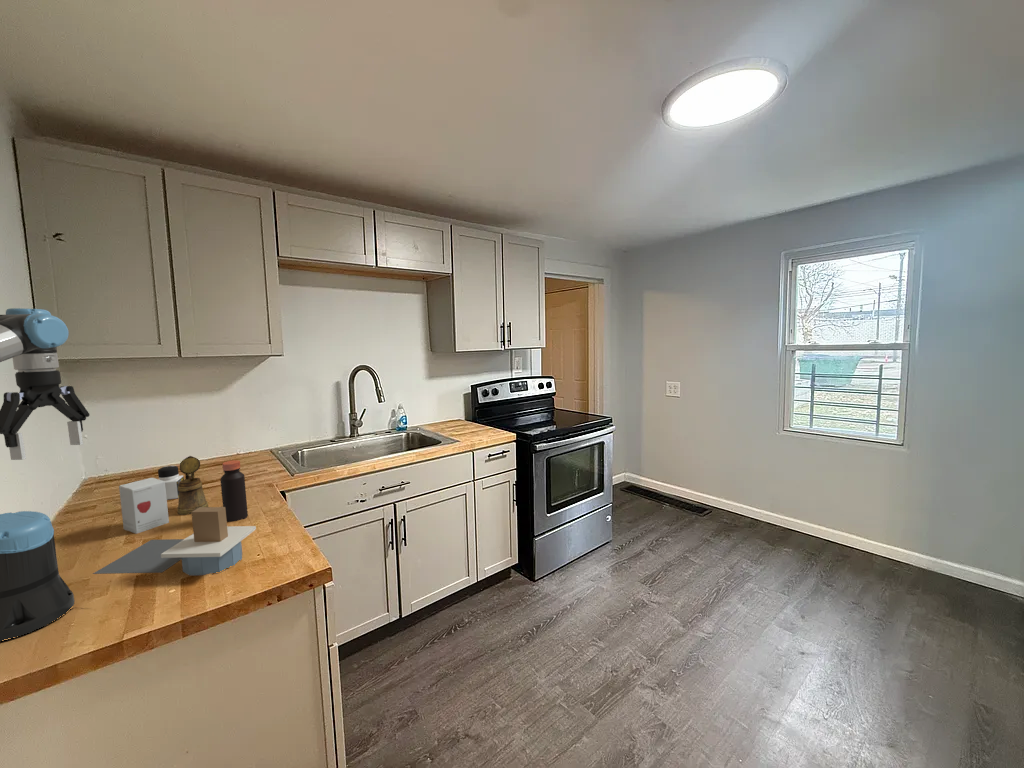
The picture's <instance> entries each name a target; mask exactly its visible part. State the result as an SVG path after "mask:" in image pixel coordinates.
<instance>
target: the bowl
mask: <svg viewBox="0 0 1024 768" xmlns="http://www.w3.org/2000/svg"><path fill="white" fill-rule="evenodd" d="M242 546H243V545H242V541H240V542H239V543H238V544H236V545H235V546H234V547H233V548H231V549H230V550H229V551H227V552H226V553H225V554H224V555H222V556H221V557H181V565H182V566H181V567H182V572H183V573H185V574H186V575H188V576H204V575H210V574H212V573H216V572H220V571H222V570H224V569H226V568H229V567H230V566H233V565H234V566H236V565H237V564H238V563H239V562H240V561H241V560H242V559H243V547H242ZM239 560H240V561H239ZM238 561H239V562H238ZM237 562H238V563H237ZM236 563H237V564H236ZM235 564H236V565H235ZM234 566H233V567H234ZM229 569H230V568H229ZM226 570H227V569H226ZM224 571H225V570H224ZM222 572H223V571H222ZM220 573H221V572H220ZM216 574H217V573H216Z"/></svg>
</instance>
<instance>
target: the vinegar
mask: <svg viewBox="0 0 1024 768" xmlns="http://www.w3.org/2000/svg"><path fill="white" fill-rule="evenodd" d="M222 470H223V471H222V472H224V474H223V475H222V476H220V488H221V498H222V499H221V500H222V501H221V502H222V507H225V509H226V519H227V523H234V522H238V521H241V520H245V519H247V518H248V514H249V513H248V502H247V491H246V479H245V477H246V476H245V473H243V472H241V461H240V460H237V459H234V460H233V459H232V460H226V461H224V462H222Z"/></svg>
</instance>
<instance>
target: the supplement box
mask: <svg viewBox="0 0 1024 768" xmlns="http://www.w3.org/2000/svg"><path fill="white" fill-rule="evenodd" d="M118 490H119V497H120V498H119V499H120V508H121V517H122V526H123V530H125V531H127V532H131V533H133V534H141V533H143V532H145V531H148V530H151V529H154V528H158V527H161V526H163V525H166V524H169V523H170V520H169V512H168V511H169V510H168V500H167V498H166V488H165V481H162V480H160V479H159V478H155V477H149V478H144V479H139V480H135V481H133V482H129V483H126V484H125V483H124V484H120V485H119V486H118Z"/></svg>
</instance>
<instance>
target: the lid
mask: <svg viewBox="0 0 1024 768" xmlns="http://www.w3.org/2000/svg"><path fill="white" fill-rule="evenodd" d="M190 515H191V522H192V531H193V532H192V534H191V535H188V536H187V537H185V538H183V539H184V540H182V541H181V542H179V543H178V544H176V545H174V546H173V547H171V548H170V549H168V550H167V551H165V552H163V553H162V554H161V558H178V557H221V556H222V555H224V554H225V553H226V552H227V551H229V550H230V549H231V548H233V547H234V546H235V545H236V544H238V543H239V542H240V541H241V542H242V541H243V540H244V539H245V538H247V537H248V536H249V535H251V534H253V532H254V531H256V529H257V527H256V525H244V526H243V525H241V526H240V525H237V526H235V525H233V526H228V522H227V519H226V509H225V507H223V506H215V507H214V506H212V507H211V506H208V507H199V508H198V509H196V510H194V511H192V512H191V514H190Z"/></svg>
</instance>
